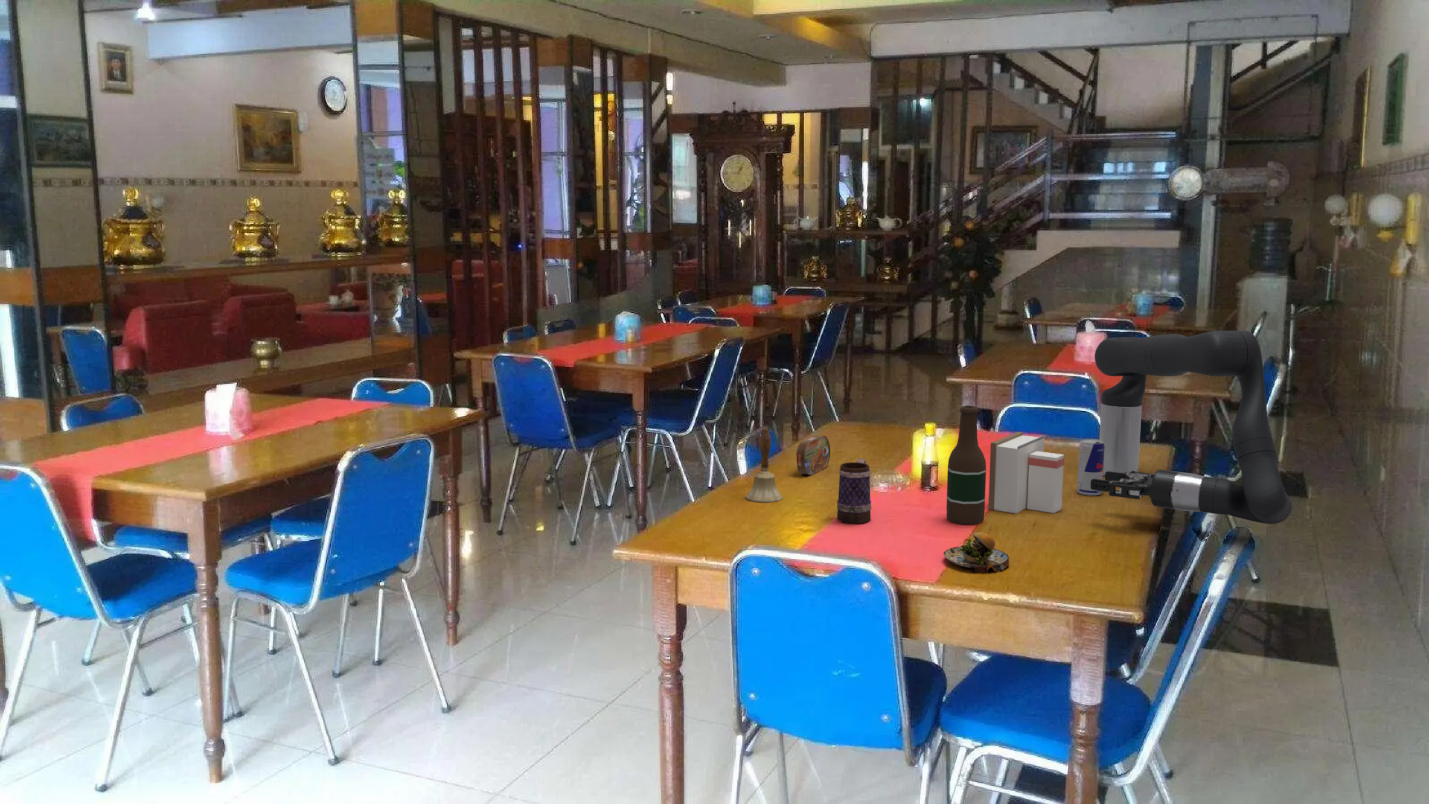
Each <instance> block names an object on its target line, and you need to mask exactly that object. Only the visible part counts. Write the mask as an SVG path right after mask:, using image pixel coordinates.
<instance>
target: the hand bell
mask: <svg viewBox="0 0 1429 804" xmlns="http://www.w3.org/2000/svg"><path fill="white" fill-rule="evenodd" d="M758 445H759V451H760V457H761V461H760V471H758V472H757V473H756V472H755V474H754V478H753V484H752V486H751V489H750V490H749V492H748V493H746V495H745V499H746V500H748V501H751V502H754V503H775V502H776V503H777V502H779V501H782V500H783V498H784V497H783V495H782V493H780V491H779V490H778V488H777V485H776V484H777V483H776V478H775V474H774V473H772V472H770V471H769V465H770V464H769V454H770V451H771V445H772V440H771V435H770V431H769V428H767V427H762V430H761V433H760V436H759V442H758Z"/></svg>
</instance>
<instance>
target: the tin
mask: <svg viewBox="0 0 1429 804" xmlns="http://www.w3.org/2000/svg"><path fill="white" fill-rule="evenodd" d="M796 449H797V450H796V454H795V455H796V469H797V471H798V472H799V474H801V475H804V476H805V475H807V476H813V475H815V474H817V473H819V472H821V471H824V470H825V469H827V467H828V465H829V462H830V458H831V445H830V441H829V439H828V437H827V436H825V435H814V436H812V437H810V438H808V439H805V440H803V441H801V442H800V443H799V445H798V446H797V448H796Z"/></svg>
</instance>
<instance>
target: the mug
mask: <svg viewBox="0 0 1429 804" xmlns="http://www.w3.org/2000/svg"><path fill="white" fill-rule="evenodd" d="M870 475H871V468H870V465H869V464H867V461H866V459H865V458H862V457H861V458H858V459H857V460H856V462H844V463H842V464H840V468H839V481H838V497H837V498H838V499H837V501H836V508H837V513H836V514H837V516H836V518H837V520H838V521H839V522H841V523H843V524H850V525H860V524H861V525H862V524H866V523H868V522H869V521H871V518H872V516H871V515H872V514H871V513H872V512H871V510H872V500H871V476H870Z"/></svg>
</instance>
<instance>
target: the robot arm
mask: <svg viewBox="0 0 1429 804" xmlns="http://www.w3.org/2000/svg"><path fill="white" fill-rule="evenodd" d="M1260 346H1261V345H1260V344H1259V341H1258V339H1257V337H1256V336H1255V334H1254V333H1252V332H1250V331H1246V330H1212V331H1206V332H1203V333H1199V334H1196V335H1191V336H1186V335H1184V334H1177V333H1167V334H1157V335H1152V336H1144V337H1138V336H1128V337H1127V336H1123V337H1122V336H1121V337H1109V338H1106V339H1104V340H1102V341H1101V342H1100V343H1099V344H1097V347H1096V349H1095V351H1094V363H1095V366H1096V367H1097V369H1098V370H1099V372H1100V373H1102V374H1103V375H1105V376H1109V377H1122V378H1121V380H1120V381H1119V382H1117V384H1115V385H1113V386H1112V387H1111V386H1110V387H1109V388H1107V389H1105V390H1103V392H1102V393H1101V398H1100V422H1099V439H1098V440H1101V441H1103V442H1104V445H1105V449H1104V467H1103V477H1104V479H1103V480H1100V479H1092V480H1091V489H1092V490H1098V491H1102V492H1104V493H1105V492H1106V493H1108V496H1110V497H1117V498H1124V499H1131V500H1132V499H1133V500H1140V498H1143V497H1144V496H1145V497H1147V496H1148V497H1149V498H1150V502H1151V505H1152V506H1154V507H1157V508H1164V509H1170V510H1177V511H1184V512H1197V513H1198V512H1202V513H1206V514H1214V515H1222V516H1223V515H1224V516H1231V517H1234V518H1235V517H1236V518H1237V519H1238V518H1239V519H1242V520H1245V521H1246V520H1247V521H1249V522H1250V521H1251V522H1255V523H1260V524H1265V525H1266V524H1267V525H1276V524H1279V523H1282V522H1285V521H1286V520H1287V519H1288V518H1289V517H1290V515H1291V513H1292V511H1293V503H1292V500H1291V498H1290V497H1289V495H1288V494H1287V492H1286V491H1285V490H1286V489H1285V487H1284V485H1283V481H1282V478H1281V474H1280V470H1279V457H1278V454H1277V453H1278V452H1277V450H1276V446H1275V442H1274V438H1273V435H1272V431H1271V427H1270V422H1269V417H1268V416H1269V415H1268V409H1267V398H1266V396H1267V395H1266V386H1265V384H1266V382H1265V375H1264V365H1263V364H1264V363H1263V354H1262V350H1261V347H1260ZM1187 373H1193V374H1198V375H1204V376H1209V377H1216V378H1217V377H1220V378H1221V377H1236V378H1237V379H1238V381H1239V385H1240V388H1241V389H1240V390H1241V397H1240V398H1241V399H1240V403H1239V407H1238V411H1237V413H1236V415H1235V418H1234V421H1233V424H1232V430H1231V435H1232V436H1231V437H1232V443H1233V449H1234V452H1235V456H1236V460H1237V463H1238V466H1239V467H1238V468H1239V470H1240V472H1241V481H1242V484H1239V483H1236V482H1234V480H1230V479H1225V478H1220V477H1211V476H1204V475H1200V474H1196V473H1190V472H1183V471H1182V472H1181V471H1176V470H1165V469H1158V470H1155V472H1154V473H1149V472H1148V473H1147V472H1142V471H1141V472H1140V471H1139V459H1140V458H1139V457H1140V445H1141V443H1140V441H1141V427H1142V426H1141V423H1142V410H1143V409H1142V408H1143V398H1144V396H1145V393H1146V385H1147V384H1146V383H1147V376H1155V377H1178V376H1183V375H1185V374H1187ZM1116 488H1119V489H1116Z"/></svg>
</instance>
